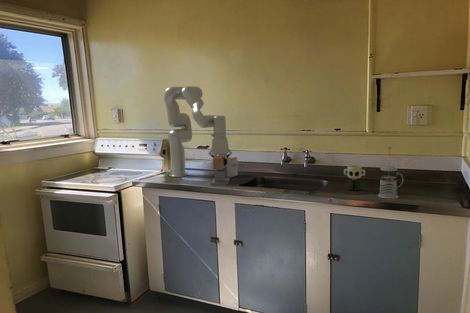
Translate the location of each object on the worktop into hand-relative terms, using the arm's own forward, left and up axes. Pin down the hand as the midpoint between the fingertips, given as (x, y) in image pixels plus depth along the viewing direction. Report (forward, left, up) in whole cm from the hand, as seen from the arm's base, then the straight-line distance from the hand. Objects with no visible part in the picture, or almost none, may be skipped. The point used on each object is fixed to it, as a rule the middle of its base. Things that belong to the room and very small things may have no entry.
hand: (220, 164), depth 234 cm
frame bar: (0, 0, -2) cm, 2 cm away
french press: (+89, -41, -11) cm, 99 cm away
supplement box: (+4, +19, -11) cm, 22 cm away
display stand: (0, 0, -10) cm, 10 cm away
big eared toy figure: (+75, -26, -11) cm, 80 cm away
